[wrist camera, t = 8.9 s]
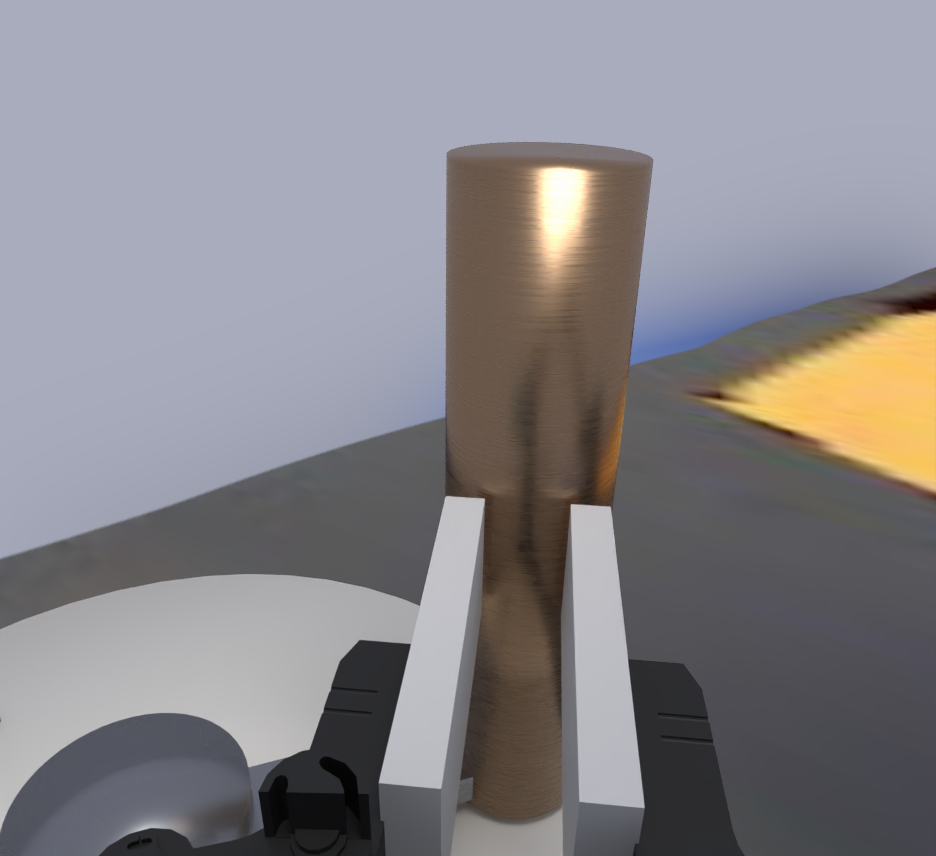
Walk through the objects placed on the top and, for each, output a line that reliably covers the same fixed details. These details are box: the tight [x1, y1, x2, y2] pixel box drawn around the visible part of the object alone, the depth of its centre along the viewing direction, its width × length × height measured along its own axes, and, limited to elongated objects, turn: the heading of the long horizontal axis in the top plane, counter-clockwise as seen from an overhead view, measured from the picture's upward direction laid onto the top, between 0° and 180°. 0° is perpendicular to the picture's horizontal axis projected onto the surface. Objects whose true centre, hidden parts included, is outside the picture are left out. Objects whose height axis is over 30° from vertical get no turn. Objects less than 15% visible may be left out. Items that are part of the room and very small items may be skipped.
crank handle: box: [0, 142, 653, 856], centre depth 15 cm, size 21×5×15 cm, turn 110°
